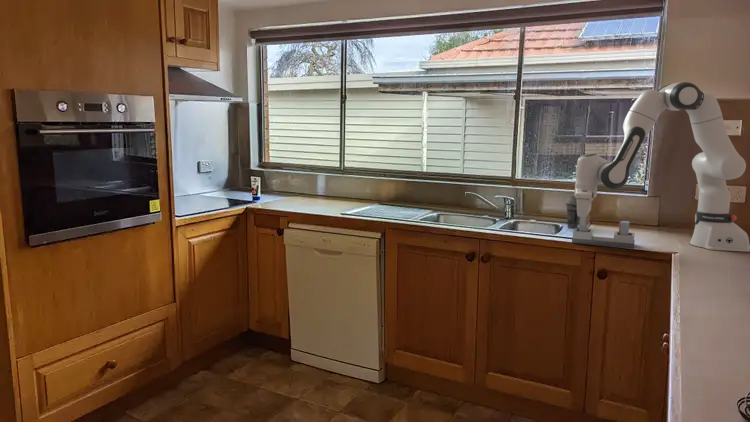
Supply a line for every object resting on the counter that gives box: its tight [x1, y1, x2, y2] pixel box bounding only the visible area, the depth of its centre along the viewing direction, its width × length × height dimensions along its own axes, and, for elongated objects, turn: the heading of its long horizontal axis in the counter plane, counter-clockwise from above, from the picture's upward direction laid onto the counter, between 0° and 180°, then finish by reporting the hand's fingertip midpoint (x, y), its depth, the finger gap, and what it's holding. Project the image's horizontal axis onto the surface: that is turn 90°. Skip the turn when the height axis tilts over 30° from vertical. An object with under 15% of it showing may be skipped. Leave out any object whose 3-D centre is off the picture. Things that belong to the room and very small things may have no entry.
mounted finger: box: [618, 220, 630, 235], centre depth 223 cm, size 4×4×8 cm
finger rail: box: [571, 227, 636, 249], centre depth 227 cm, size 24×8×5 cm, turn 63°
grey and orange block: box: [578, 214, 591, 232], centre depth 229 cm, size 4×4×8 cm
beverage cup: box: [565, 192, 580, 229], centre depth 261 cm, size 7×7×20 cm
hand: (583, 224), depth 229 cm, fingers closed on grey and orange block, 4 cm apart
